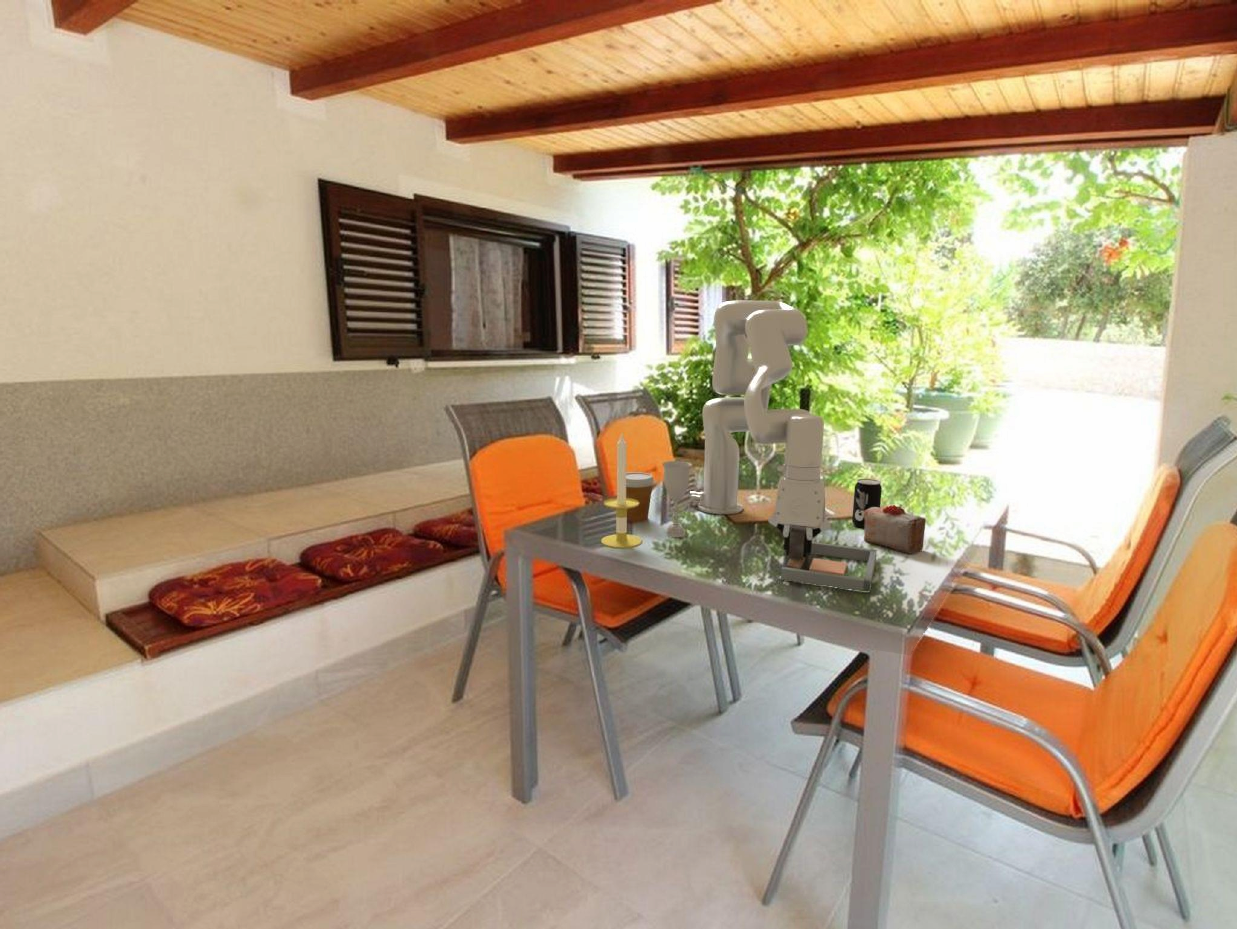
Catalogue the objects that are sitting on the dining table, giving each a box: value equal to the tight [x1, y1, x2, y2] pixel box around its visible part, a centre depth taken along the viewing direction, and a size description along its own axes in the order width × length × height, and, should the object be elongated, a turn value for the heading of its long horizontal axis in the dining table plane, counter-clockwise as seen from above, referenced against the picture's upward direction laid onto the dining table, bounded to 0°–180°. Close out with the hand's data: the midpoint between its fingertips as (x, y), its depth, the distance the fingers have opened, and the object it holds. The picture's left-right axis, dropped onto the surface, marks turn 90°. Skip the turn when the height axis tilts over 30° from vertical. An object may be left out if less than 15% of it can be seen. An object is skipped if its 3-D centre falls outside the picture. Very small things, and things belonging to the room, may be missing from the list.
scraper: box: [785, 526, 807, 570], centre depth 147 cm, size 3×13×8 cm, turn 157°
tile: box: [808, 557, 848, 576], centre depth 145 cm, size 7×7×2 cm
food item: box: [863, 504, 927, 555], centre depth 160 cm, size 14×8×10 cm, turn 36°
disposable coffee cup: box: [626, 471, 655, 523], centre depth 180 cm, size 10×10×12 cm
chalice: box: [661, 460, 692, 538], centre depth 167 cm, size 7×7×18 cm
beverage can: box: [851, 478, 883, 529], centre depth 175 cm, size 7×7×12 cm
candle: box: [600, 433, 643, 550], centre depth 160 cm, size 10×10×27 cm
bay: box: [780, 541, 878, 591], centre depth 144 cm, size 17×20×2 cm
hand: (797, 553), depth 147 cm, fingers closed on scraper, 3 cm apart
